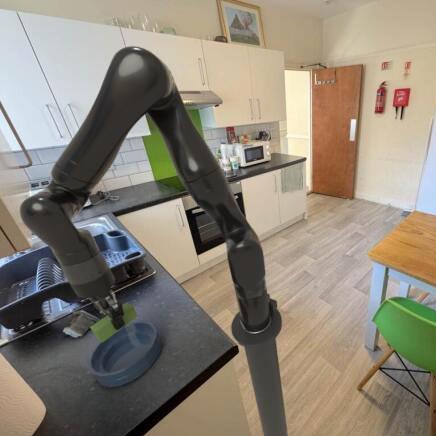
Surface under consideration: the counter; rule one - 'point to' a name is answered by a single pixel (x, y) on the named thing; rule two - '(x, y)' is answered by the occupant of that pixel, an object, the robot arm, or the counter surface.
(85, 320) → the crumpled grey bag
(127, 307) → the bar
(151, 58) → the robot arm
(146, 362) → the bowl
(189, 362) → the counter surface
